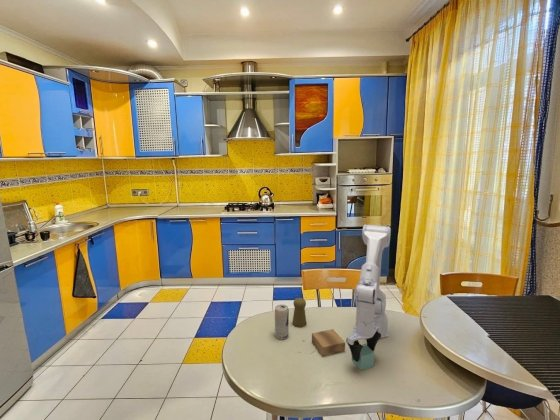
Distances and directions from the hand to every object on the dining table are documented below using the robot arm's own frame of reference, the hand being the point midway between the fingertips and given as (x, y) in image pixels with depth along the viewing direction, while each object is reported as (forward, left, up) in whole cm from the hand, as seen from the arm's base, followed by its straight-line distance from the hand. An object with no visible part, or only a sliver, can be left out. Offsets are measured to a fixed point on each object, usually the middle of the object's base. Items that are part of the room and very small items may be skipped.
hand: (362, 355), depth 103 cm
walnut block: (+7, -12, -3) cm, 14 cm away
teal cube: (0, 0, -3) cm, 3 cm away
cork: (+11, -30, -3) cm, 32 cm away
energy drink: (+21, -24, -3) cm, 32 cm away
